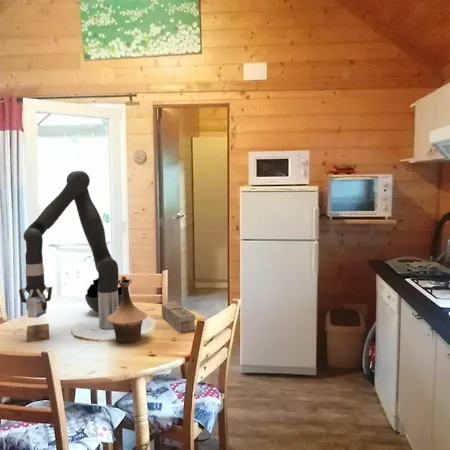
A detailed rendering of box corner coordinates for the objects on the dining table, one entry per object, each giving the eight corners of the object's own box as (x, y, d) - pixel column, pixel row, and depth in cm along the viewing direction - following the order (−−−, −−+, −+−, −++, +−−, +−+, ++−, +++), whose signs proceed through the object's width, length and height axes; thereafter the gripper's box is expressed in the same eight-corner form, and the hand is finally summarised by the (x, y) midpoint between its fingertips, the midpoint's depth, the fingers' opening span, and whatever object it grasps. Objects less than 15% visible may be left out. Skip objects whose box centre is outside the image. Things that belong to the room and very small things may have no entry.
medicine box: (36, 318, 213) (35, 298, 212) (27, 317, 214) (26, 298, 213) (46, 313, 221) (45, 294, 220) (37, 312, 221) (36, 294, 221)
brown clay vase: (105, 336, 218) (102, 274, 215) (143, 331, 224) (140, 271, 222) (111, 349, 202) (108, 282, 199) (152, 343, 208) (149, 278, 205)
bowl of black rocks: (117, 305, 271) (116, 272, 269) (130, 313, 254) (129, 278, 252) (81, 311, 260) (79, 276, 258) (92, 320, 243) (90, 283, 241)
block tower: (161, 319, 246) (179, 334, 220) (160, 303, 246) (178, 315, 219) (176, 317, 250) (196, 331, 223) (175, 301, 249) (195, 313, 222)
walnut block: (49, 334, 224) (48, 323, 223) (49, 340, 215) (48, 329, 215) (28, 336, 221) (27, 325, 220) (27, 342, 212) (26, 331, 212)
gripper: (53, 271, 220) (55, 307, 222) (19, 272, 218) (21, 309, 219) (50, 274, 213) (52, 312, 215) (15, 275, 210) (17, 314, 212)
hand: (36, 310), depth 217 cm, fingers closed on medicine box, 5 cm apart
